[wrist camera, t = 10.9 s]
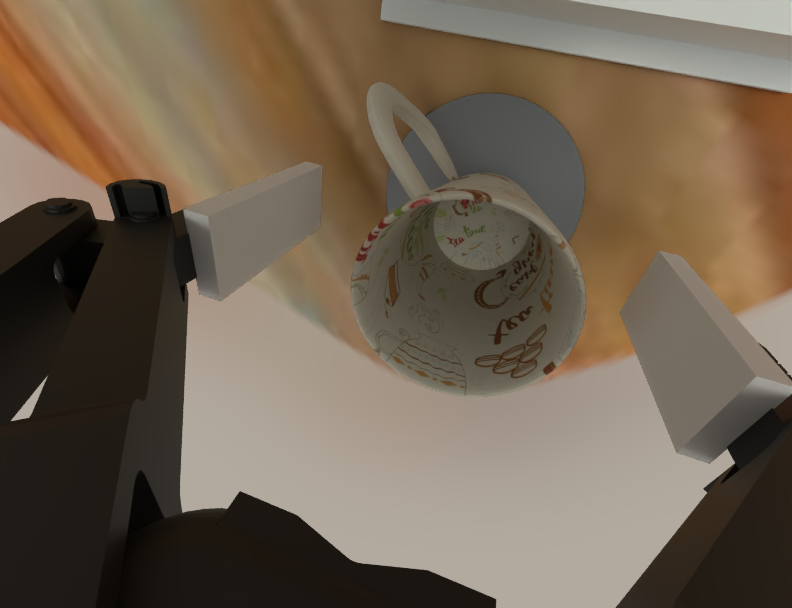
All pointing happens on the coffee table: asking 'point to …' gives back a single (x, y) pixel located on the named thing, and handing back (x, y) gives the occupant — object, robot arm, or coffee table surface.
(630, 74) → the coffee table surface
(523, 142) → the coaster
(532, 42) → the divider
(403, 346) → the mug
